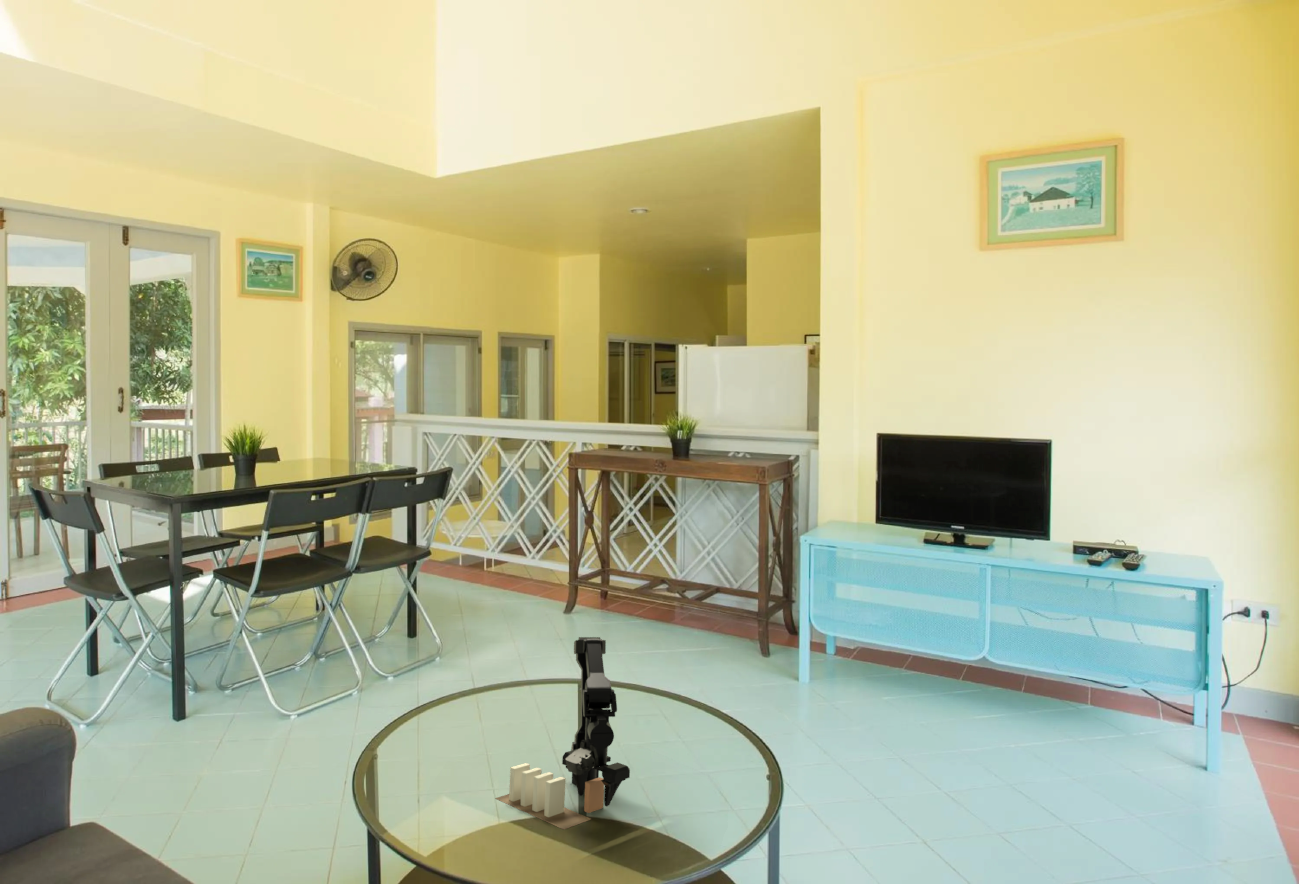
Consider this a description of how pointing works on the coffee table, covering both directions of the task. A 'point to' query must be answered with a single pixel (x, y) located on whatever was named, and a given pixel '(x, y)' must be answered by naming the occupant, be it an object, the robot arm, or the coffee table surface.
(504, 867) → the coffee table surface
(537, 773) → the ivory domino
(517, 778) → the ivory domino
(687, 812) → the coffee table surface
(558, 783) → the ivory domino
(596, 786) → the terracotta domino
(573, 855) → the coffee table surface
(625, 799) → the coffee table surface
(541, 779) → the ivory domino
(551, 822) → the walnut board
